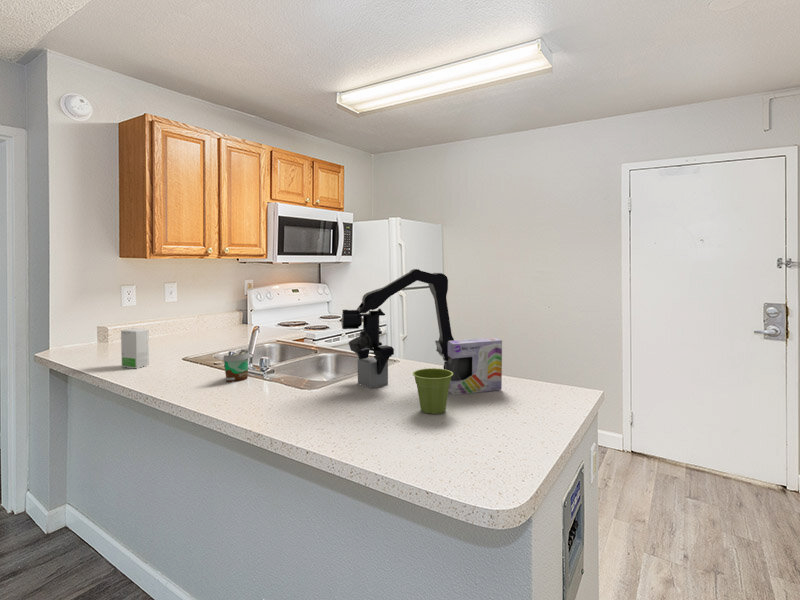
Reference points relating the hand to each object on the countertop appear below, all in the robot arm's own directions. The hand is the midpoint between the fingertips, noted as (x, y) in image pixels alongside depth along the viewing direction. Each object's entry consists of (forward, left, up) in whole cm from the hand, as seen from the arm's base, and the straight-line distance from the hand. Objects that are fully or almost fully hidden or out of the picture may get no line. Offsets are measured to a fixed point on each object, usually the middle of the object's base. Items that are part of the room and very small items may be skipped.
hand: (371, 371), depth 158 cm
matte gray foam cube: (0, 0, -4) cm, 5 cm away
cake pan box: (-29, -21, -5) cm, 36 cm away
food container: (+37, +33, -5) cm, 50 cm away
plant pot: (-34, +3, -5) cm, 35 cm away
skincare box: (+85, +59, -5) cm, 104 cm away
